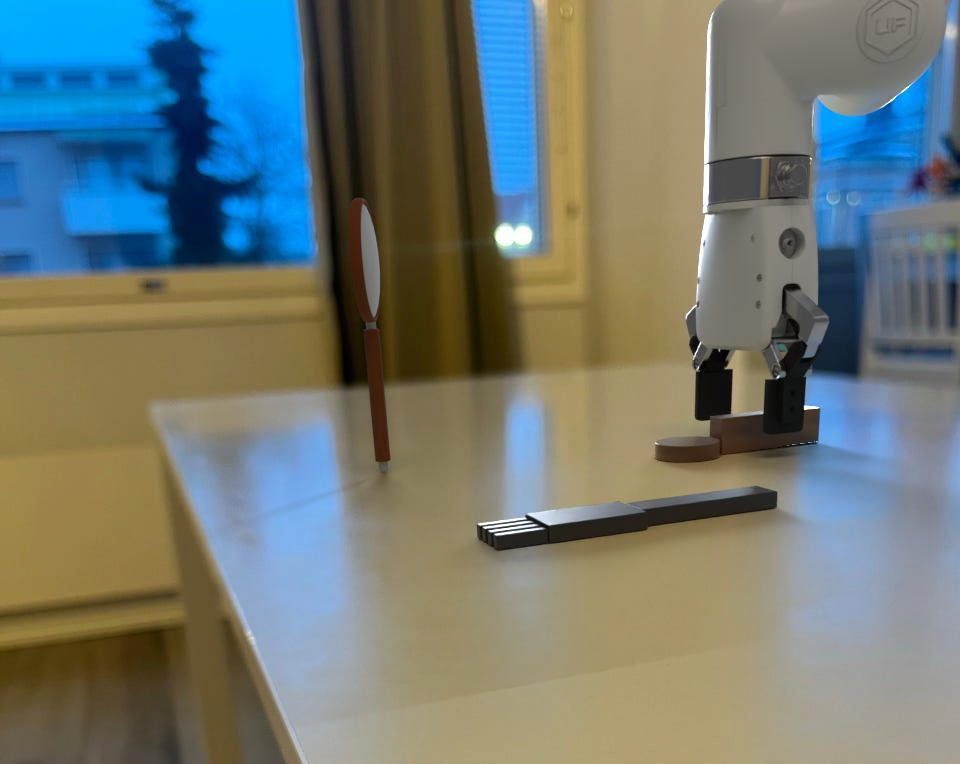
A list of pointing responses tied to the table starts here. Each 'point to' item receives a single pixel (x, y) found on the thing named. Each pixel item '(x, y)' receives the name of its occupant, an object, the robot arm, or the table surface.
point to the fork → (620, 517)
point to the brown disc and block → (735, 437)
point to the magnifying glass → (369, 317)
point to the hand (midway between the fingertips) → (745, 425)
